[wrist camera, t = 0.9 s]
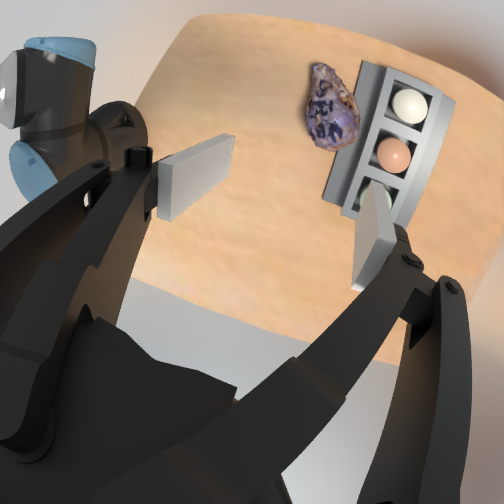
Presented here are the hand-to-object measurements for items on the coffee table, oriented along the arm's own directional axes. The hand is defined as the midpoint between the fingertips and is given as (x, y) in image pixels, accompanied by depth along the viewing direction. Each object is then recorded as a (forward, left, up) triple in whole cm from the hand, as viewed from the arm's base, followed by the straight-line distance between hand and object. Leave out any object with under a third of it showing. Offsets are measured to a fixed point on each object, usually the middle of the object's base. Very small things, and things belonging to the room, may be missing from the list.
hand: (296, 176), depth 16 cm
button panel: (+9, 0, -25) cm, 27 cm away
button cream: (+9, +7, -23) cm, 25 cm away
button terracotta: (+9, 0, -23) cm, 24 cm away
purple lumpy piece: (0, +3, -25) cm, 25 cm away
